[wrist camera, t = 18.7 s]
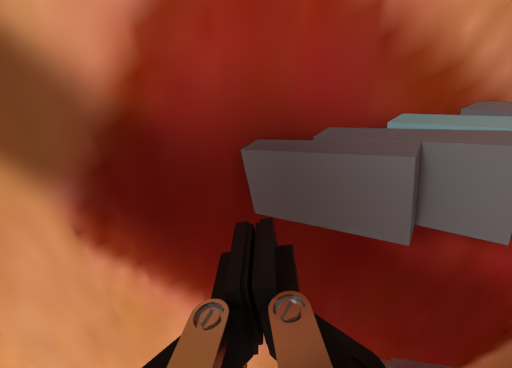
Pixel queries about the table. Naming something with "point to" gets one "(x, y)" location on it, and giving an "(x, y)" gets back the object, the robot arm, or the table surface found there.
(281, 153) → the domino
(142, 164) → the table surface
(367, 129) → the domino
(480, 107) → the domino
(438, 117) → the domino
